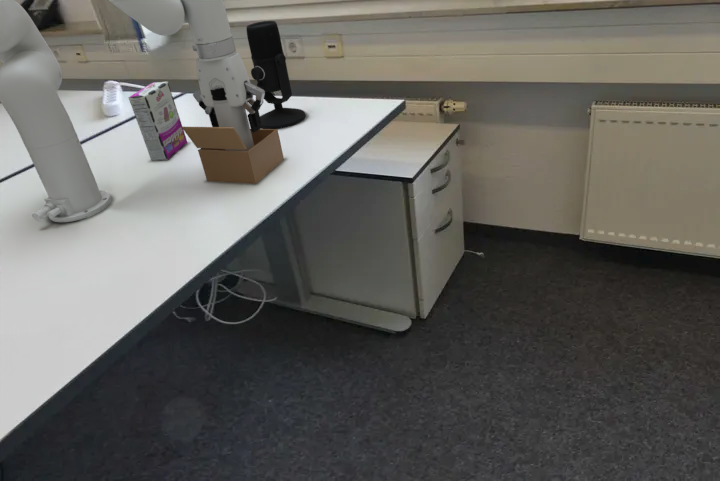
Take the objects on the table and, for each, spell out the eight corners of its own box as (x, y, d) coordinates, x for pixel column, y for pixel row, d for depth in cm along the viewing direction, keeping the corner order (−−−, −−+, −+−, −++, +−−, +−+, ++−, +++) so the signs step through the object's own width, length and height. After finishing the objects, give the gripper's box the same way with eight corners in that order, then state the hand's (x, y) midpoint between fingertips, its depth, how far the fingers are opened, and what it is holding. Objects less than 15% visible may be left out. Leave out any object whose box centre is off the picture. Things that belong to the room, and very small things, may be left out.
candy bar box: (171, 144, 150) (151, 82, 141) (188, 143, 148) (169, 80, 140) (149, 161, 140) (126, 96, 132) (167, 160, 139) (146, 95, 131)
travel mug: (266, 165, 127) (245, 76, 117) (242, 177, 123) (218, 86, 113) (249, 160, 131) (227, 74, 121) (225, 171, 127) (201, 83, 117)
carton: (255, 184, 120) (247, 151, 116) (207, 181, 125) (197, 150, 121) (284, 159, 130) (277, 129, 126) (237, 157, 135) (230, 128, 131)
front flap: (247, 148, 116) (246, 149, 116) (197, 147, 121) (196, 148, 121) (233, 127, 111) (233, 128, 111) (182, 126, 116) (181, 127, 116)
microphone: (246, 125, 154) (223, 29, 142) (282, 109, 163) (263, 17, 150) (279, 132, 146) (257, 31, 133) (316, 115, 154) (299, 18, 142)
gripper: (170, 56, 114) (195, 136, 123) (242, 52, 108) (263, 137, 117) (192, 46, 120) (214, 123, 129) (262, 41, 113) (280, 123, 122)
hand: (237, 129), depth 123 cm, fingers open, 9 cm apart
